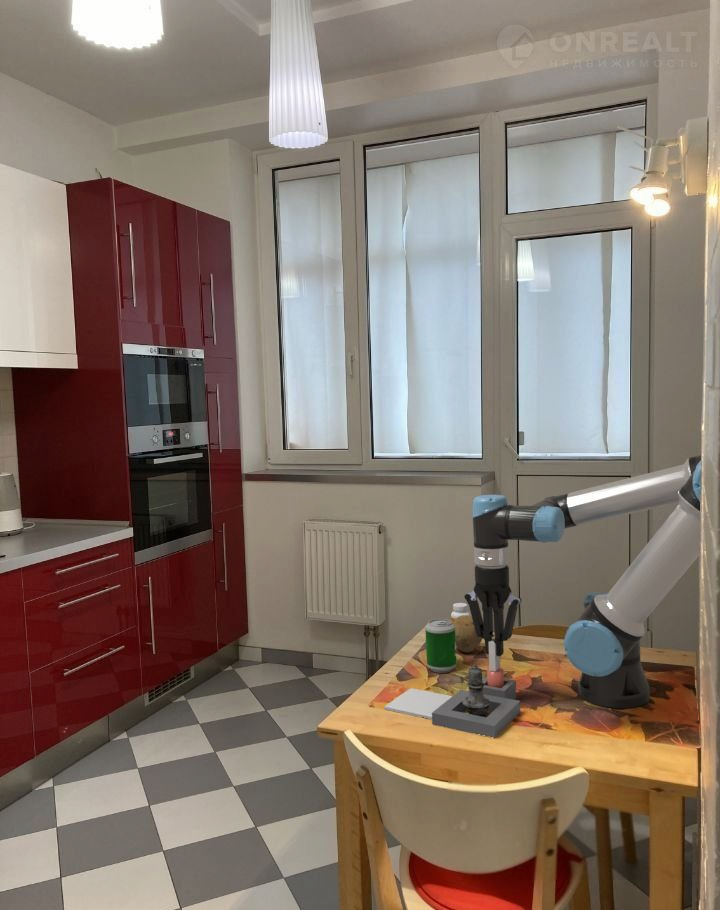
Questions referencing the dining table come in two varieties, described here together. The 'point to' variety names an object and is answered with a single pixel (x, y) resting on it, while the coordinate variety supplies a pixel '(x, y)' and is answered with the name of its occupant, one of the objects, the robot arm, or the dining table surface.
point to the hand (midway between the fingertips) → (494, 668)
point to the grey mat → (417, 703)
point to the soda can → (441, 645)
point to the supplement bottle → (459, 611)
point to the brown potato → (466, 634)
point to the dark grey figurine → (476, 694)
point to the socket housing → (492, 725)
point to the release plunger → (495, 678)
